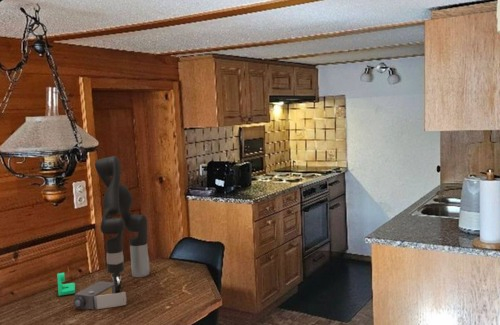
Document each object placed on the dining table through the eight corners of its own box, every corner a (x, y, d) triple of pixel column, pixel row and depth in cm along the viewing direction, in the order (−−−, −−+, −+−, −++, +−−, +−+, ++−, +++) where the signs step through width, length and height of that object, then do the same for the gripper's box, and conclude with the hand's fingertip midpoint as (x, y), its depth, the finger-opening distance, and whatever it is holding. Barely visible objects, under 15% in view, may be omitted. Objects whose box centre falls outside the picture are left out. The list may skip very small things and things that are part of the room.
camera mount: (75, 295, 245) (73, 275, 243) (58, 297, 242) (57, 277, 241) (75, 287, 256) (73, 268, 255) (59, 289, 253) (57, 270, 252)
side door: (126, 304, 229) (125, 291, 229) (126, 305, 227) (125, 293, 226) (94, 308, 225) (93, 296, 224) (94, 310, 223) (93, 297, 222)
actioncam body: (100, 293, 244) (99, 279, 244) (118, 295, 241) (117, 281, 240) (71, 310, 225) (70, 294, 225) (90, 312, 222) (88, 296, 221)
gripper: (104, 257, 232) (107, 293, 234) (108, 266, 220) (111, 303, 222) (121, 255, 235) (123, 290, 237) (126, 263, 223) (128, 300, 225)
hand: (117, 296), depth 230 cm, fingers closed
